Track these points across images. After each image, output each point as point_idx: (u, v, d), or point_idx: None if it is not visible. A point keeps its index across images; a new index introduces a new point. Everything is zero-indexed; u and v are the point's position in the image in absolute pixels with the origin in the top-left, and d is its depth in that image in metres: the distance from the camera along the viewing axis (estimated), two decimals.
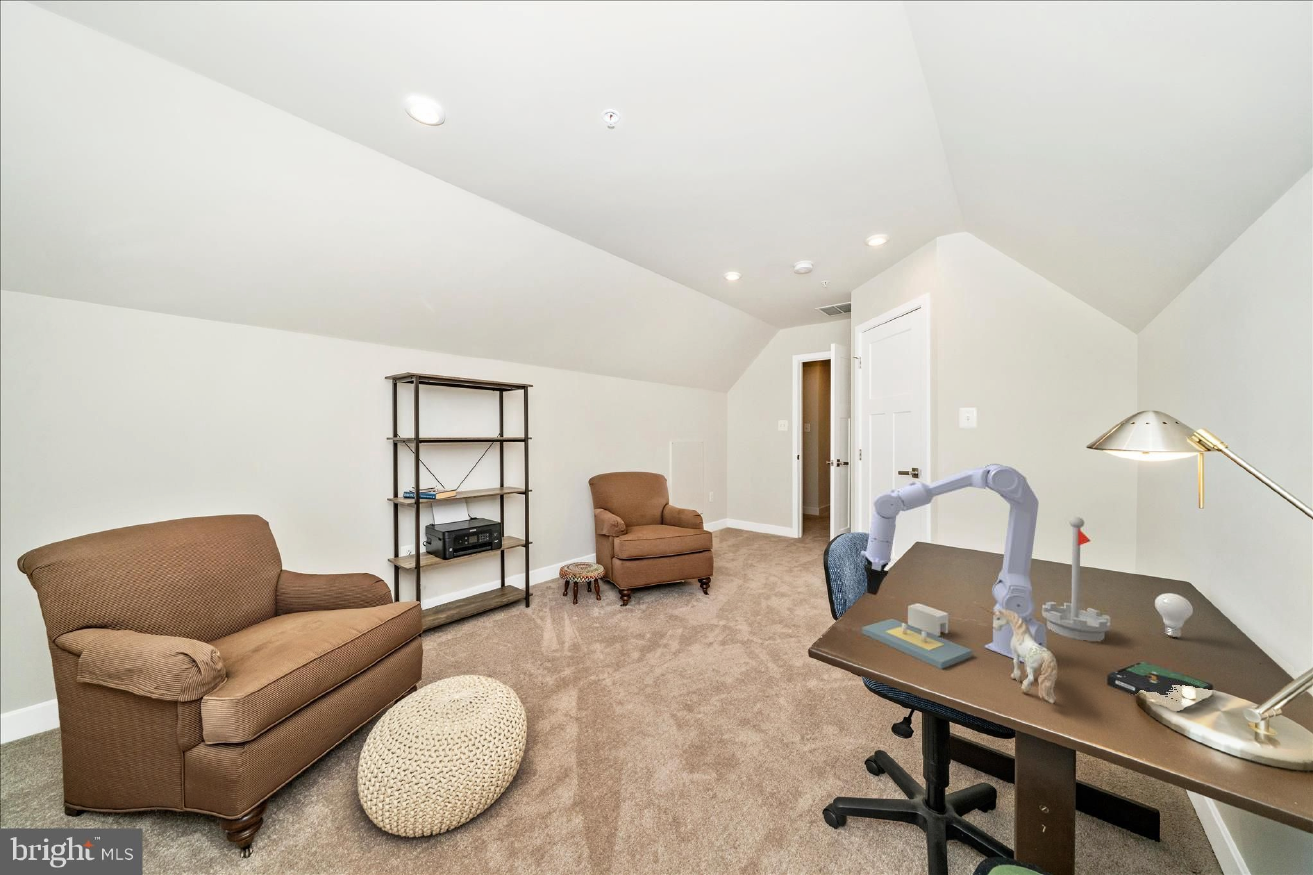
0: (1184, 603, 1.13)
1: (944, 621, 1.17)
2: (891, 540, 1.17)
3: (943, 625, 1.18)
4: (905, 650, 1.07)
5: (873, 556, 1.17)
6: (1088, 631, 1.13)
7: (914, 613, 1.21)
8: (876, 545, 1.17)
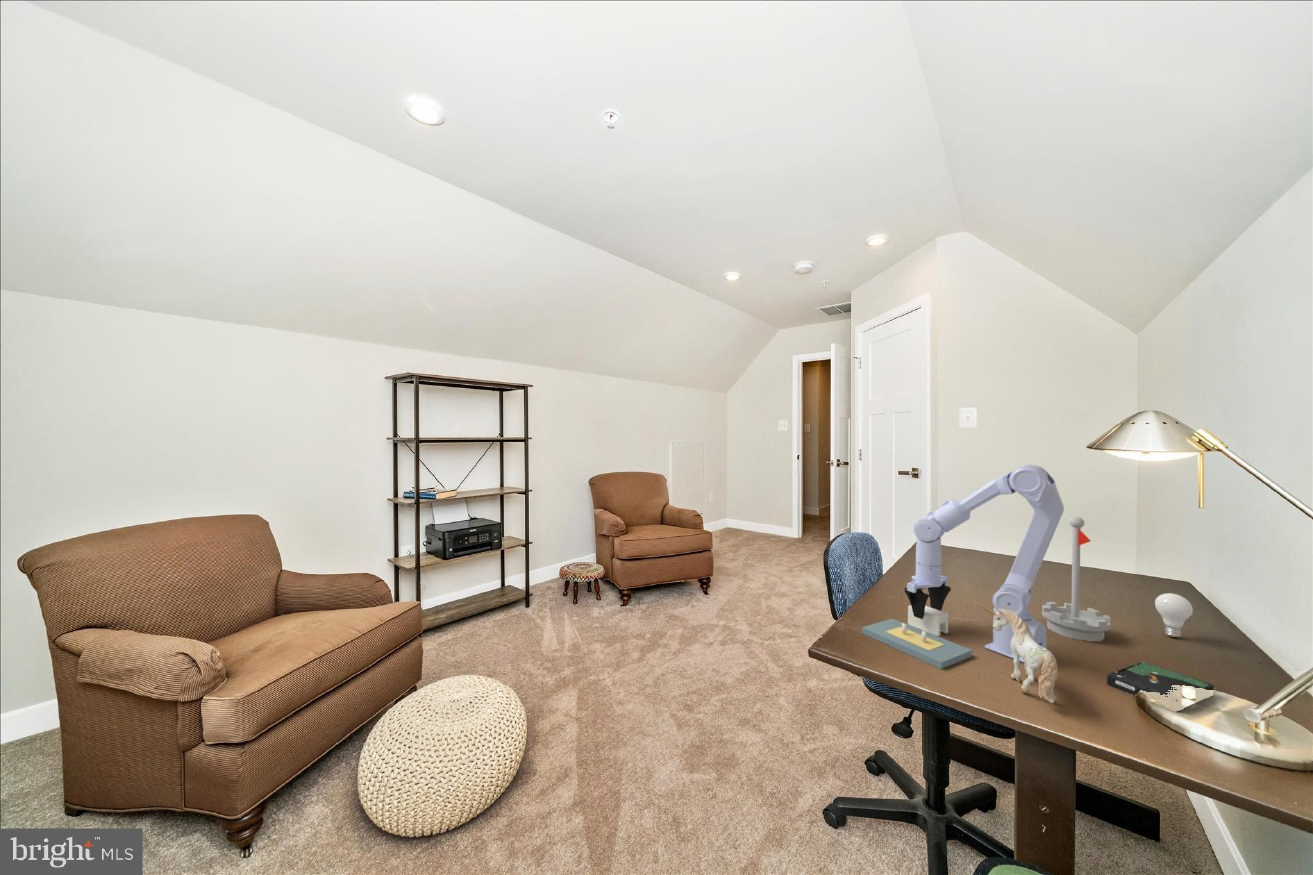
0: (1184, 603, 1.13)
1: (944, 621, 1.17)
2: (936, 564, 1.17)
3: (943, 625, 1.18)
4: (905, 650, 1.07)
5: (917, 580, 1.20)
6: (1088, 631, 1.13)
7: None
8: (918, 569, 1.20)
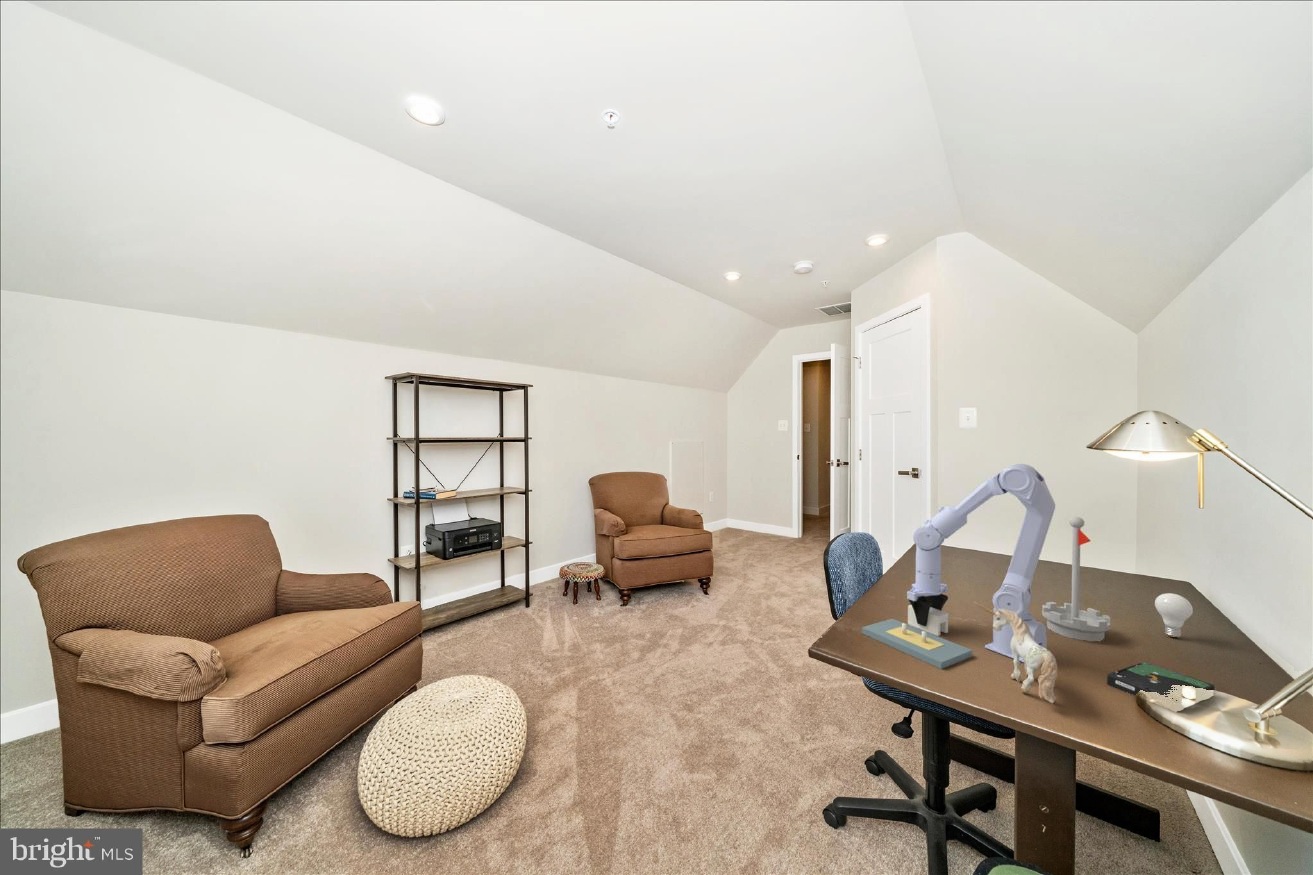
0: (1184, 603, 1.13)
1: (944, 621, 1.17)
2: (936, 572, 1.17)
3: (943, 625, 1.18)
4: (905, 650, 1.07)
5: (917, 588, 1.20)
6: (1088, 631, 1.13)
7: (914, 613, 1.21)
8: (918, 577, 1.20)
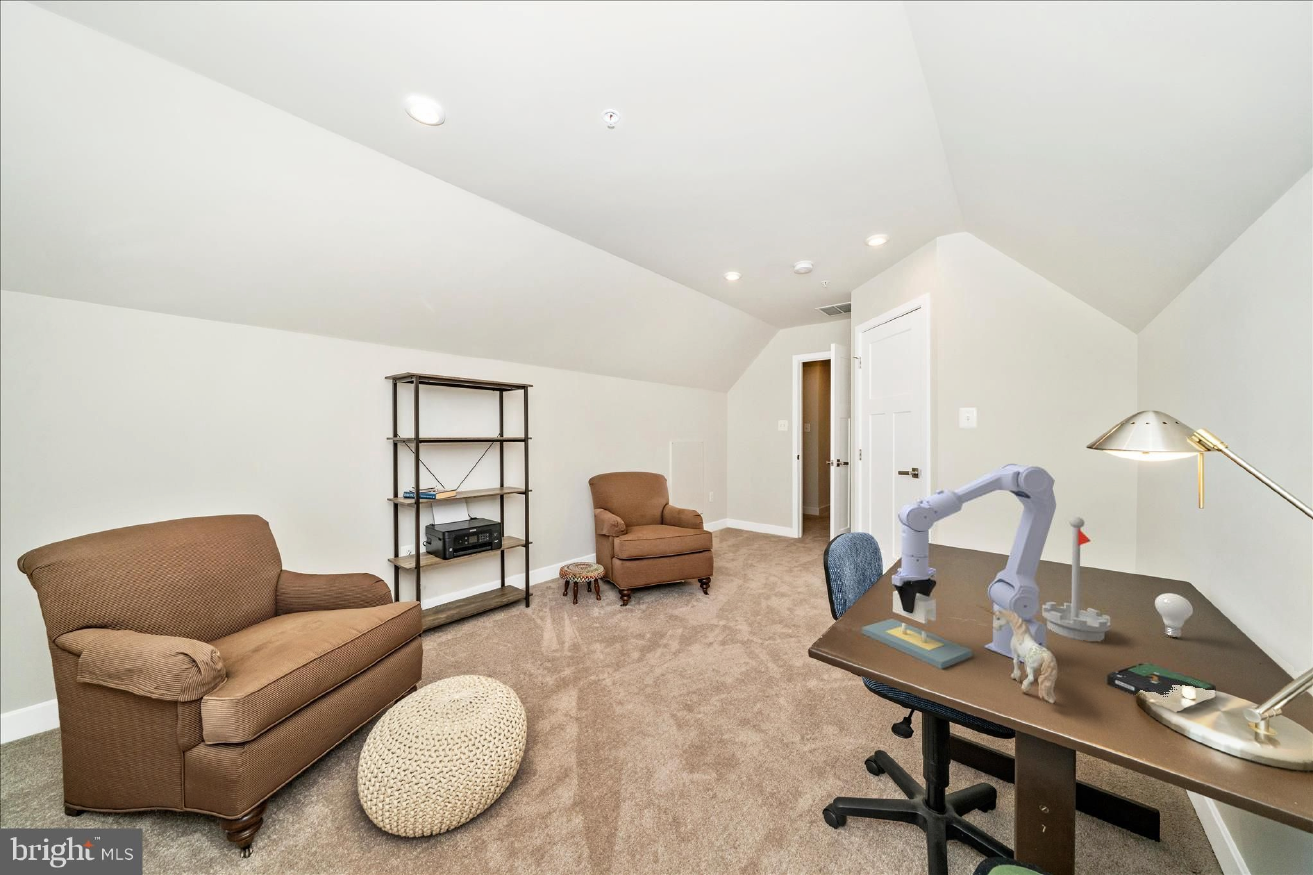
0: (1184, 603, 1.13)
1: (931, 607, 1.08)
2: (928, 554, 1.09)
3: (930, 612, 1.09)
4: (905, 650, 1.07)
5: (903, 572, 1.11)
6: (1088, 631, 1.13)
7: None
8: (904, 560, 1.10)
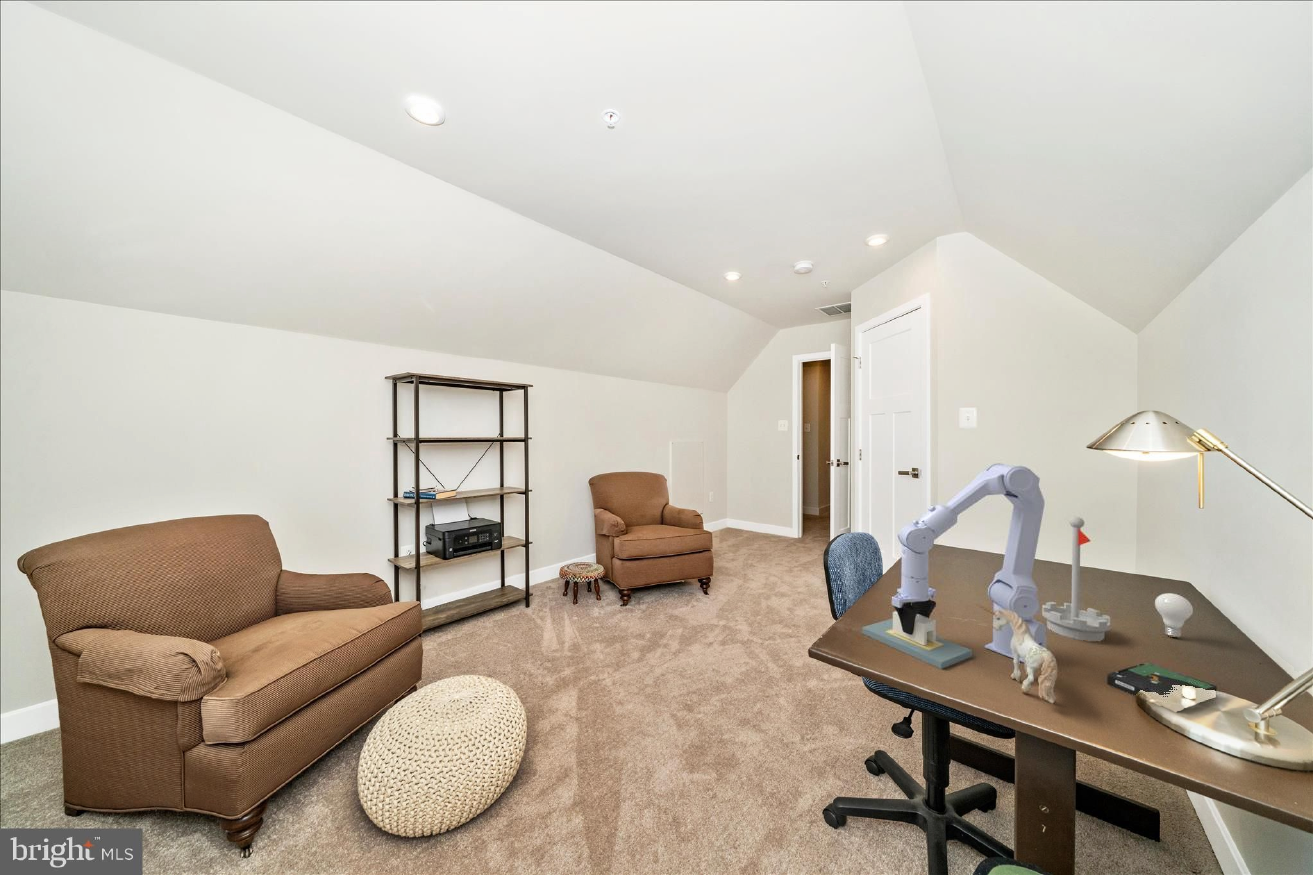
0: (1184, 603, 1.13)
1: (931, 629, 1.08)
2: (927, 575, 1.09)
3: (930, 633, 1.09)
4: (905, 650, 1.07)
5: (903, 593, 1.11)
6: (1088, 631, 1.13)
7: (899, 620, 1.12)
8: (904, 582, 1.10)
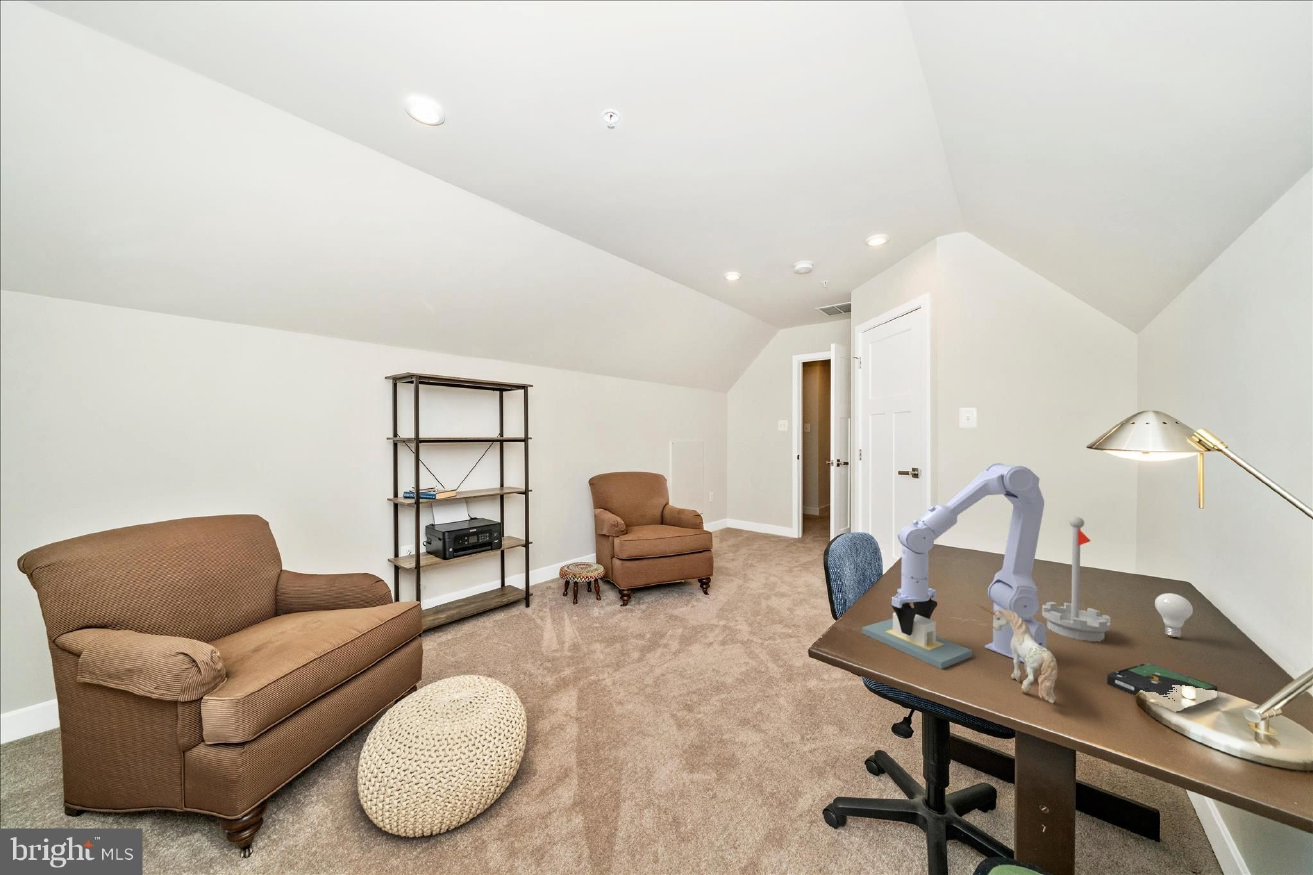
0: (1184, 603, 1.13)
1: (931, 630, 1.08)
2: (927, 575, 1.09)
3: (930, 634, 1.09)
4: (905, 650, 1.07)
5: (903, 593, 1.11)
6: (1088, 631, 1.13)
7: None
8: (904, 582, 1.10)
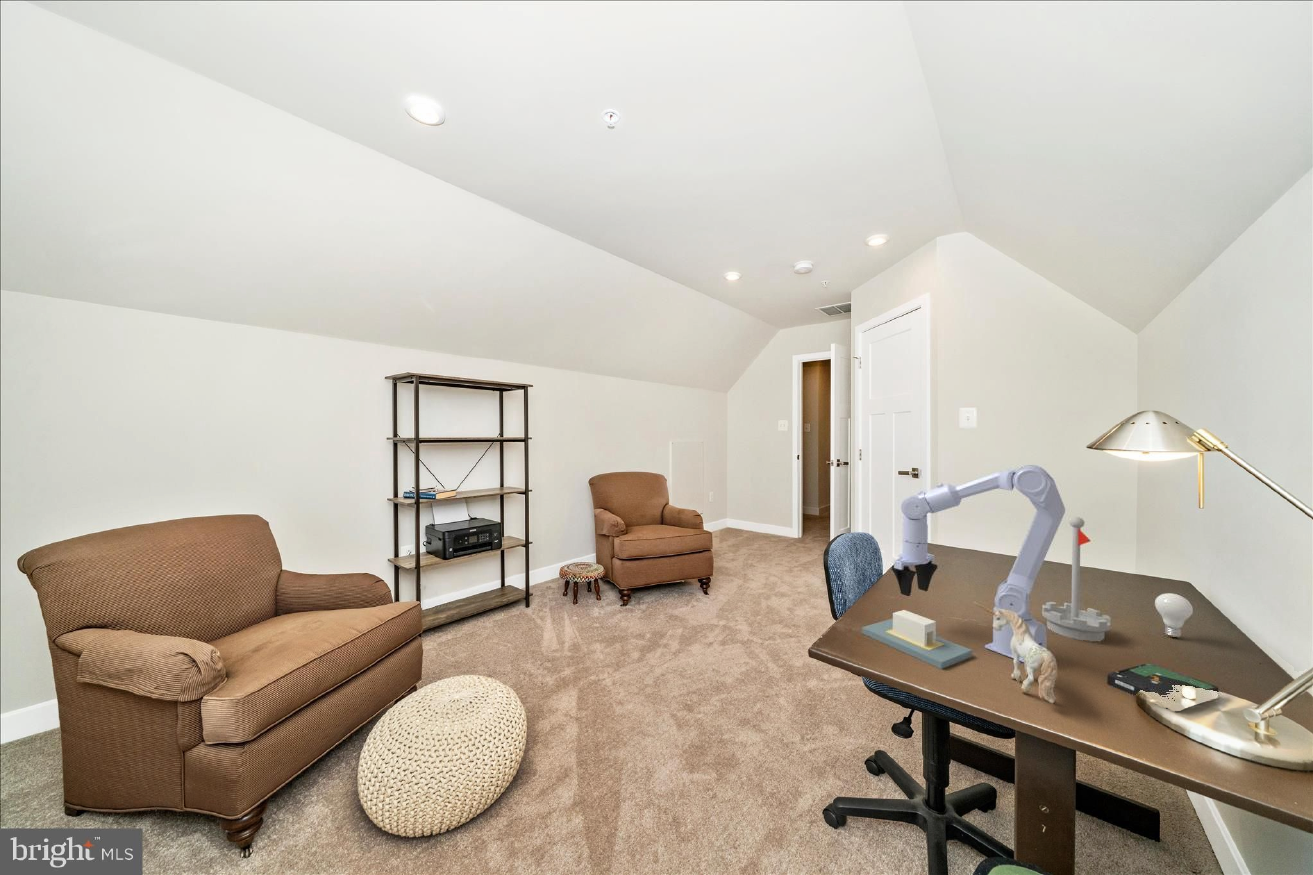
0: (1184, 603, 1.13)
1: (931, 630, 1.08)
2: (923, 541, 1.18)
3: (930, 634, 1.09)
4: (905, 650, 1.07)
5: (904, 557, 1.20)
6: (1088, 631, 1.13)
7: (899, 621, 1.12)
8: (905, 547, 1.20)
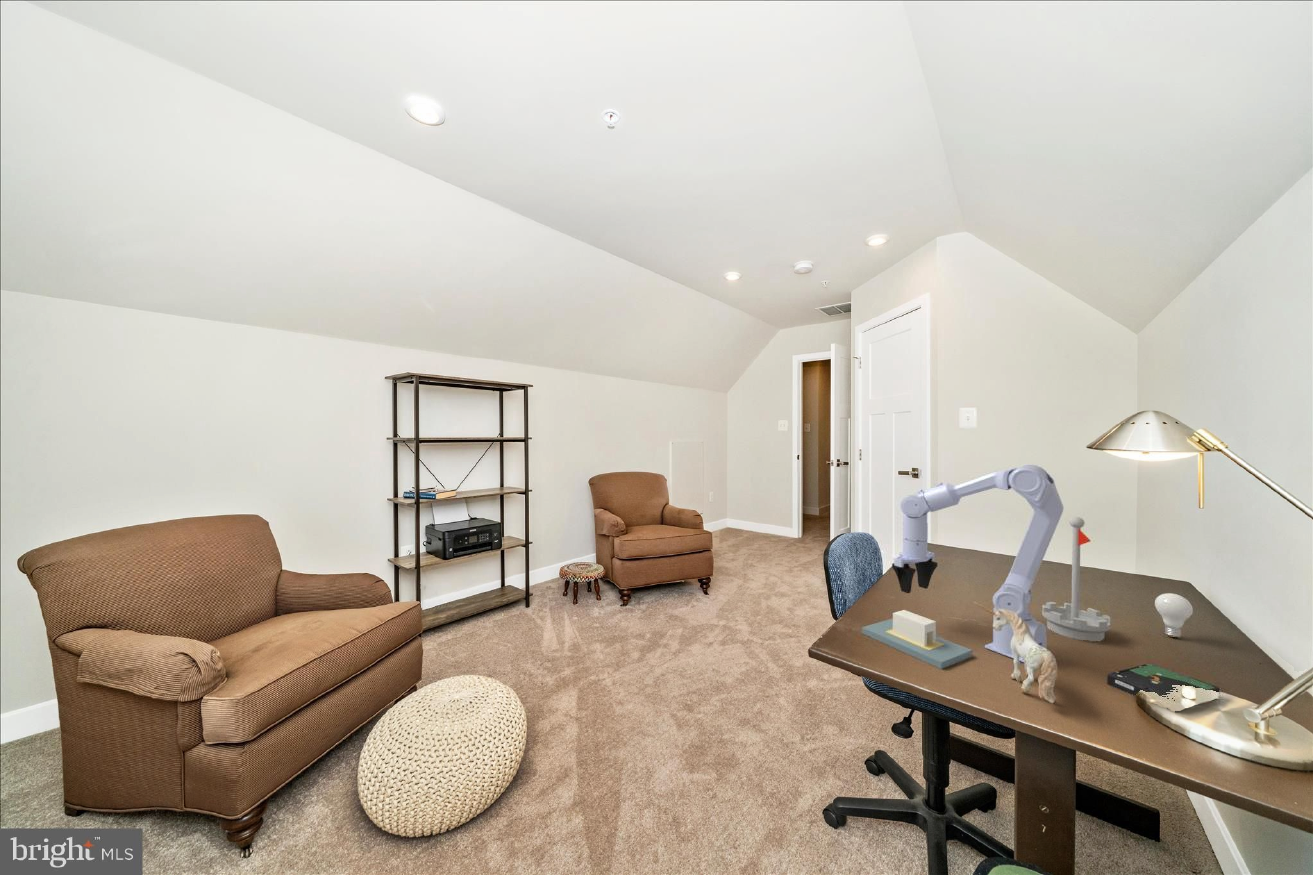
0: (1184, 603, 1.13)
1: (931, 630, 1.08)
2: (923, 539, 1.19)
3: (930, 634, 1.09)
4: (905, 650, 1.07)
5: (904, 555, 1.22)
6: (1088, 631, 1.13)
7: (899, 621, 1.12)
8: (905, 545, 1.22)
